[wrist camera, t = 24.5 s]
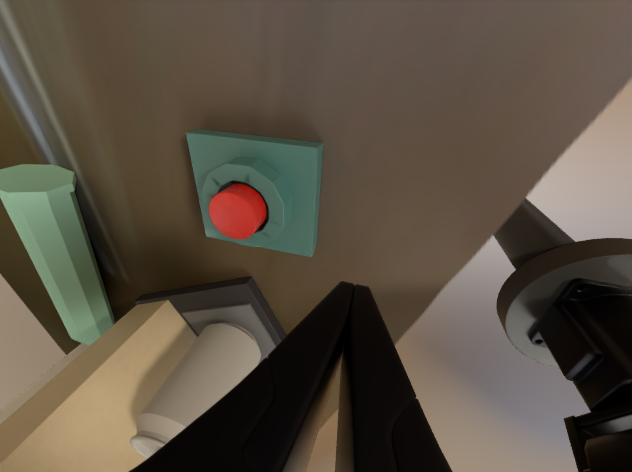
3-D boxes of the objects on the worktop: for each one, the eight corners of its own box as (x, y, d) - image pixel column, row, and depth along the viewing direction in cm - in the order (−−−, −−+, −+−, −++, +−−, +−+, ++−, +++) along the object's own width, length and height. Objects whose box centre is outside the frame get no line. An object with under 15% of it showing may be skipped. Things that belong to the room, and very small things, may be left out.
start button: (265, 187, 18) (254, 196, 16) (267, 231, 20) (258, 244, 18) (218, 180, 19) (204, 188, 17) (225, 224, 20) (212, 235, 19)
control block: (323, 142, 19) (310, 154, 16) (316, 246, 23) (305, 270, 20) (199, 128, 20) (167, 136, 17) (216, 228, 25) (193, 247, 22)
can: (272, 338, 29) (209, 471, 19) (254, 367, 33) (195, 490, 23) (212, 307, 29) (119, 425, 19) (202, 341, 33) (120, 453, 23)
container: (79, 362, 35) (-5, 199, 21) (61, 333, 37) (-26, 169, 23) (129, 334, 39) (87, 185, 25) (110, 310, 41) (62, 160, 27)
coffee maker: (251, 276, 27) (-162, 849, 7) (305, 368, 33) (168, 819, 13) (140, 295, 34) (-228, 609, 14) (201, 368, 40) (6, 662, 20)
